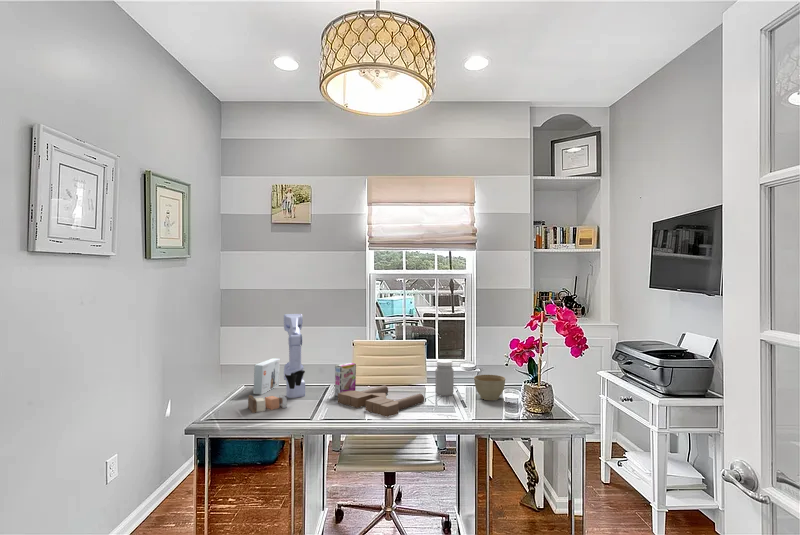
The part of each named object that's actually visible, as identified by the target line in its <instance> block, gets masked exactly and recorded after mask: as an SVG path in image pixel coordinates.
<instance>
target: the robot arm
mask: <svg viewBox="0 0 800 535" xmlns="http://www.w3.org/2000/svg"><path fill="white" fill-rule="evenodd" d="M302 328H303V314H302V313H284V314H283V329H284V331H285V332H287V335H288V337H287V338H288V339H287V340H288V342H287V344H288V360H289V361H288V362H286V363H285V364H284V365H283V380H284V381H285V382H286V383H285V384H286V387H285V388H286V390H285V394H286V395H285V397H286V398H287V399H288V398H289V399H294V398H295V399H296V398H300V397H306V382H305V380H304V375H305V373H306V371H305V370H304V369H305V368H304V367H305V366H304V365H303V364H302V347H303V334H302V332H301V331H302Z"/></svg>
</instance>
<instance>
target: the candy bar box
mask: <svg viewBox="0 0 800 535" xmlns="http://www.w3.org/2000/svg"><path fill="white" fill-rule="evenodd" d="M334 368H335V369H334V396H335V397H337V398H338V393H341V392H345V391H356V381H357V380H356V376H357V370H356V369H357V363H354V362H347V363H341V364H340V363H339V364H335V365H334Z"/></svg>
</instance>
